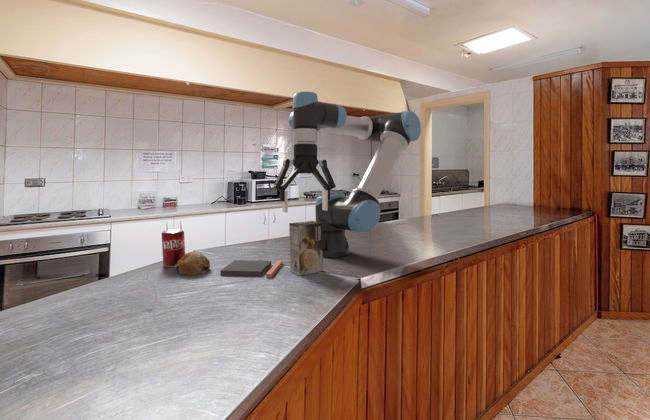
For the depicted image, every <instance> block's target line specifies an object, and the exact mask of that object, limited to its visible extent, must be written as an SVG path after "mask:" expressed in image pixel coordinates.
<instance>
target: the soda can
mask: <svg viewBox="0 0 650 420" xmlns="http://www.w3.org/2000/svg"><path fill="white" fill-rule="evenodd" d="M160 234H161V249H162V250H161V251H162V254H161V255H162V265H163V266H164V267H165V268H175V265H176V264H177V263H178V262H177V261H179V260H180V259H181V258H182V257H183V256H185V255H186V241H185V238H186V237H185V231H184V229H167V230H162V232H161V233H160Z"/></svg>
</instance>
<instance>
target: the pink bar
mask: <svg viewBox="0 0 650 420" xmlns="http://www.w3.org/2000/svg"><path fill="white" fill-rule="evenodd" d="M282 265H283V260H277V261H276V262H275V263H274V265H273V266H272V267H270V268H269V270H267V271H266V272H265V278H266V279H272V278H273V276H274V275H275V274H276V273H277V272H278V270H279V269H280V267H282Z"/></svg>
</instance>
